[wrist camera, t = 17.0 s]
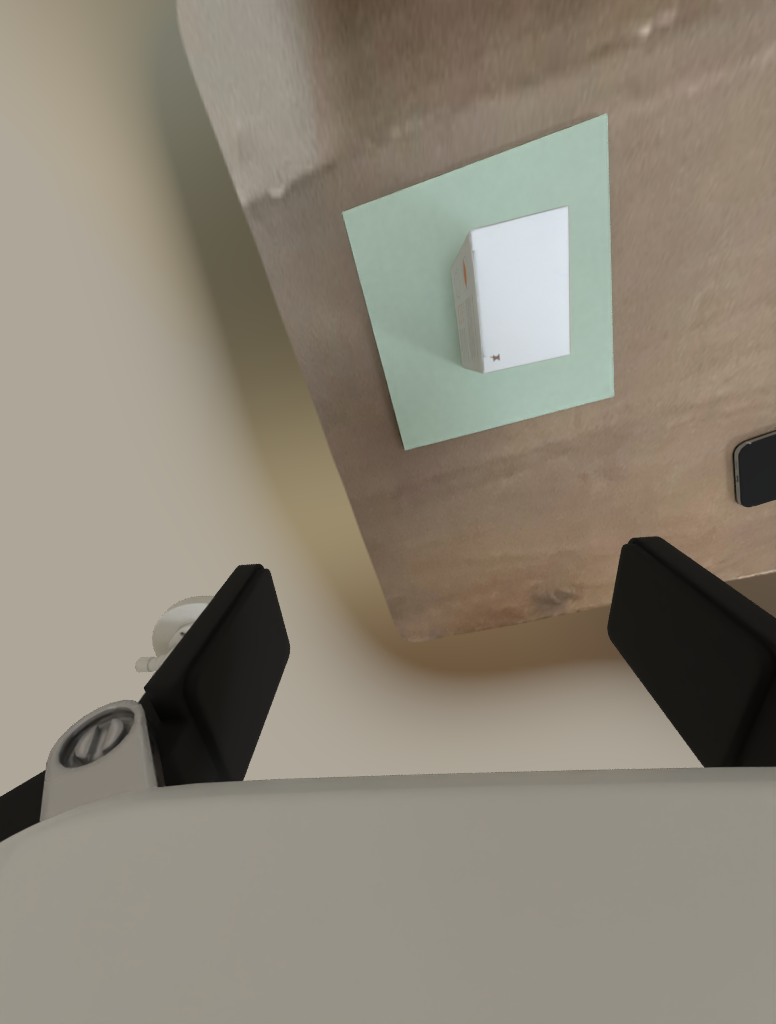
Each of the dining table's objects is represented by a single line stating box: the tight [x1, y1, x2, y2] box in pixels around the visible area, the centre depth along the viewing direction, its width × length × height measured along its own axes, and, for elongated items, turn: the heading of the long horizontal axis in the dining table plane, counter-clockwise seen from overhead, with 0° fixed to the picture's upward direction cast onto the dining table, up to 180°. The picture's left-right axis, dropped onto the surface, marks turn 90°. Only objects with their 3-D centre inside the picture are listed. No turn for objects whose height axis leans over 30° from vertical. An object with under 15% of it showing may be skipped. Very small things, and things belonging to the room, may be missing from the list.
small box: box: [450, 205, 571, 374], centre depth 26 cm, size 8×6×10 cm
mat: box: [342, 113, 614, 450], centre depth 31 cm, size 20×20×1 cm
